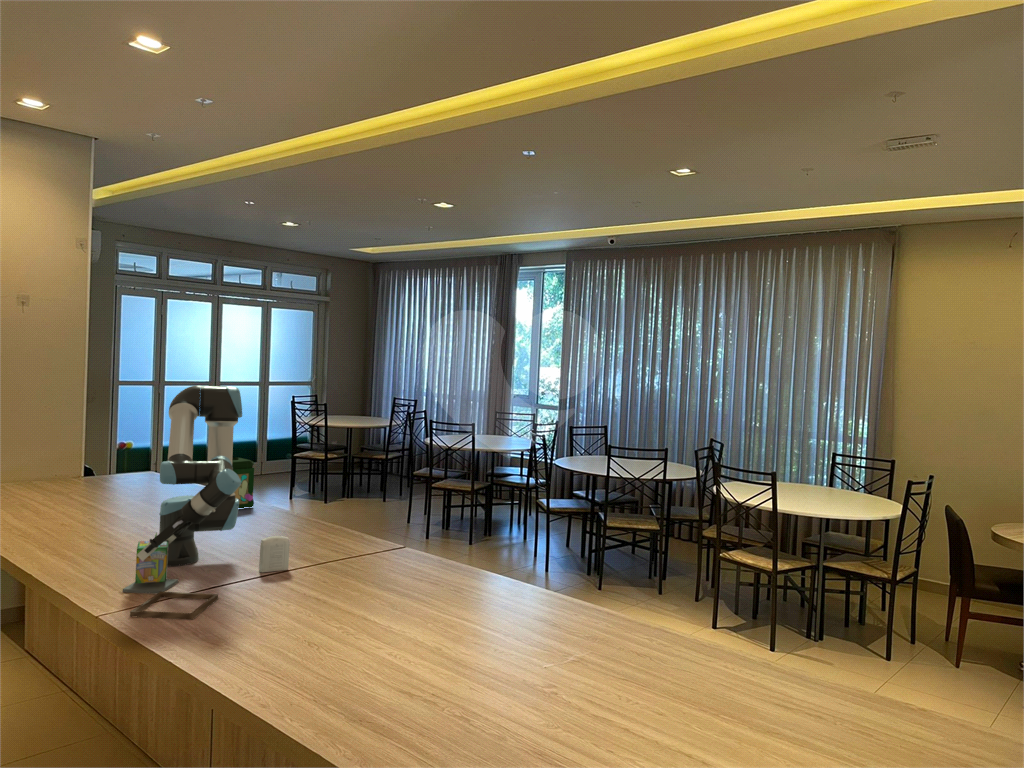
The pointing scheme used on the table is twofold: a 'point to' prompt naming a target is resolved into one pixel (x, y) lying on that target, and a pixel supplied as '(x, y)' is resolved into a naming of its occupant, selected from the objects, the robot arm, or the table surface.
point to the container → (244, 481)
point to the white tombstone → (274, 554)
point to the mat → (150, 587)
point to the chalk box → (152, 564)
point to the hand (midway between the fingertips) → (149, 552)
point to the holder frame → (174, 615)
